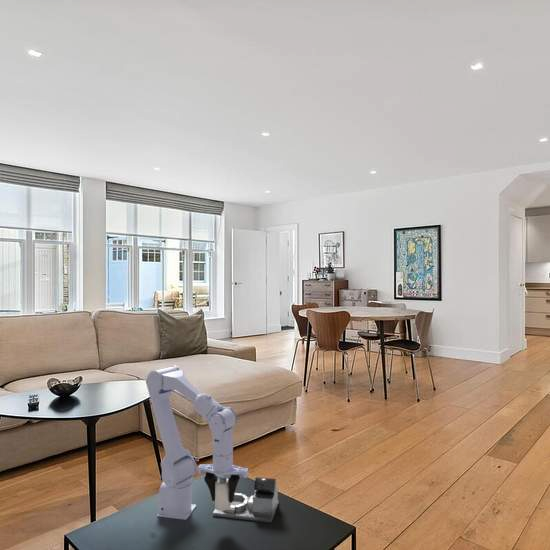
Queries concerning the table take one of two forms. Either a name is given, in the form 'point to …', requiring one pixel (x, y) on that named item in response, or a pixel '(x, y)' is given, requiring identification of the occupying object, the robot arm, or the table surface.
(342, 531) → the table surface
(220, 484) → the white bottle
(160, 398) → the robot arm
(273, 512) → the grey machine
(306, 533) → the table surface
